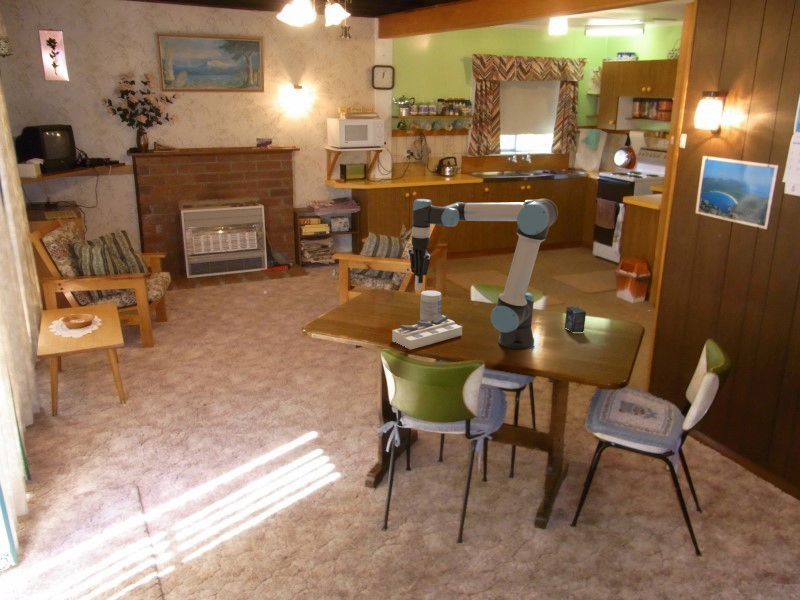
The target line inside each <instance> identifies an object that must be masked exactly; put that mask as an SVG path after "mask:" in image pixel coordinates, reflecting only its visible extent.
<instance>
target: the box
mask: <svg viewBox="0 0 800 600" xmlns="http://www.w3.org/2000/svg"><path fill="white" fill-rule="evenodd" d="M586 315H587V311H585V310H583V309H582V308H580V307H579V306H567V307H566V311H565V320H564V329H565V328H567V329H569V330H570V331H572V332H583V331H584V332H585V326H586V325H585V323H586Z"/></svg>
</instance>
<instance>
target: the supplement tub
mask: <svg viewBox="0 0 800 600" xmlns="http://www.w3.org/2000/svg"><path fill="white" fill-rule="evenodd" d="M419 305H420V307H419V310H420V311H419V312H420V313H419V315H420V316H419V321H425V322H427V321H431V320H434V319H435V318H437V317H439V316H441V315H442V293H441V292H440V291H438V290H423V291H421V293H420V304H419Z"/></svg>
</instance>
